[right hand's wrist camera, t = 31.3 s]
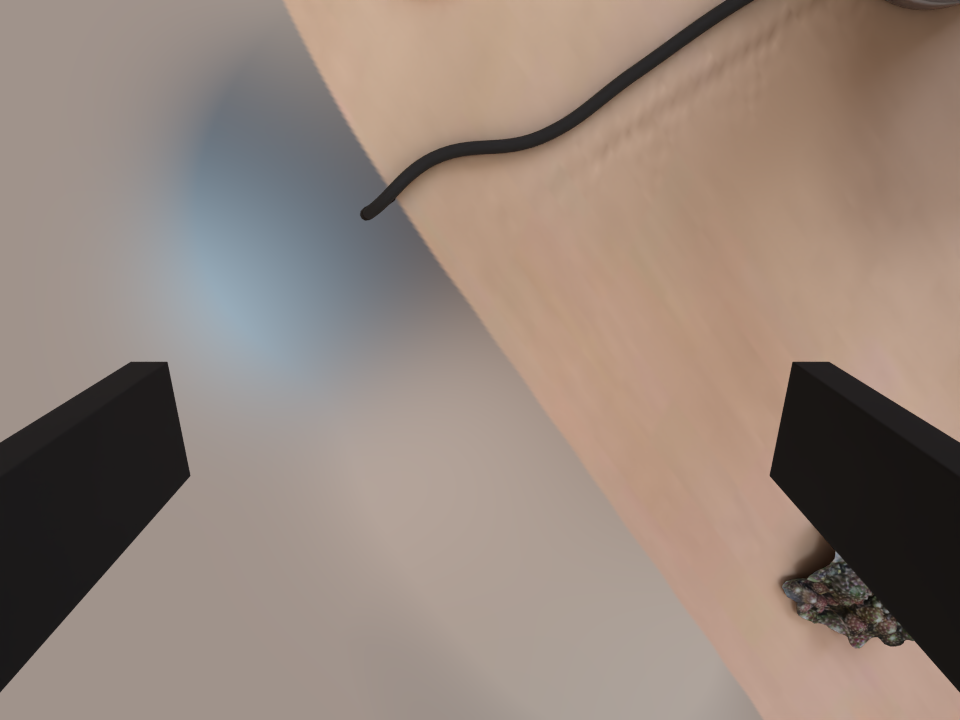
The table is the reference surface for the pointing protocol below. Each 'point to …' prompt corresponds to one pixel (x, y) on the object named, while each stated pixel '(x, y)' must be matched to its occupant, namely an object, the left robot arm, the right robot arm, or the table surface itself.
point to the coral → (844, 605)
